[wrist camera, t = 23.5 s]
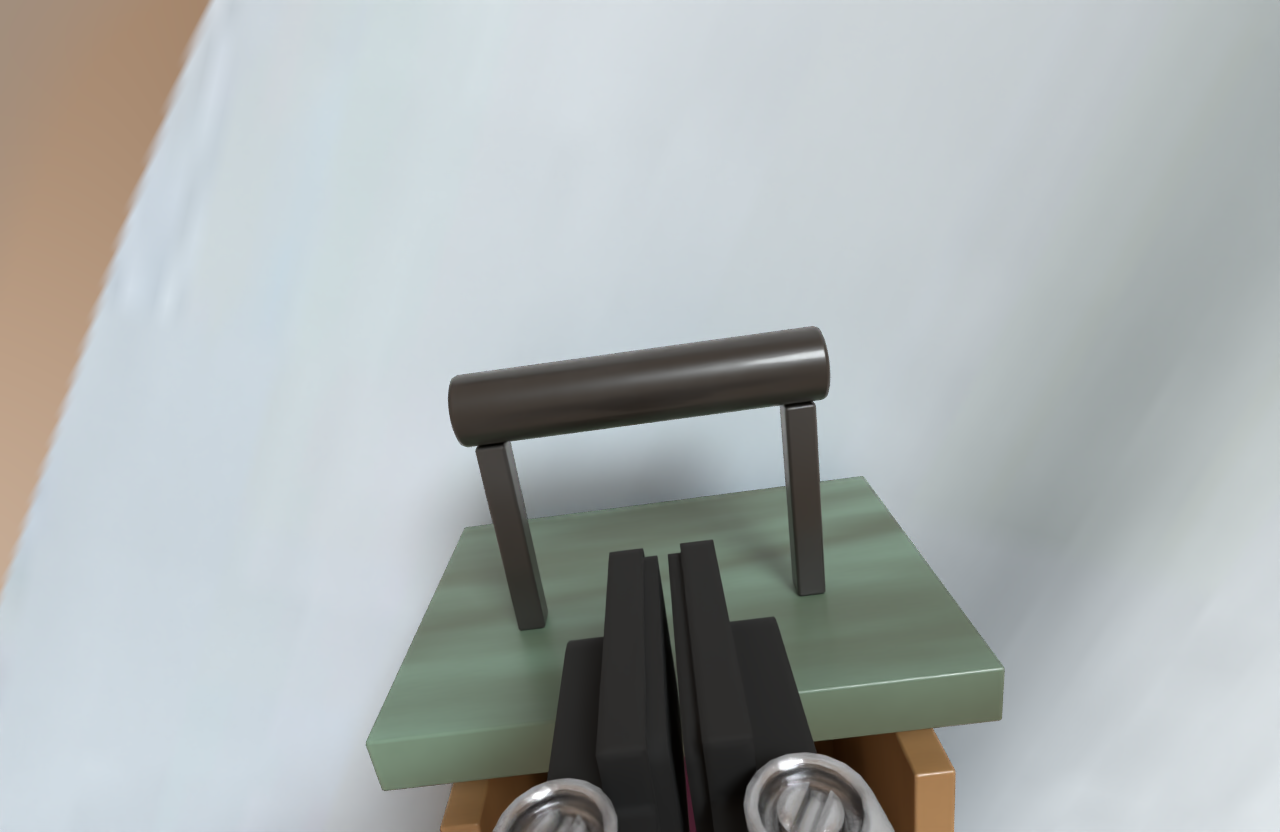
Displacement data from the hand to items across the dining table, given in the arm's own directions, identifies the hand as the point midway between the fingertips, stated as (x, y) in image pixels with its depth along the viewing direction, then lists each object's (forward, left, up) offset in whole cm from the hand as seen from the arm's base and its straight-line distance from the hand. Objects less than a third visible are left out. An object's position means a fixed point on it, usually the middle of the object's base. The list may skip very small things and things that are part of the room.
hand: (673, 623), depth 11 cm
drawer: (0, -6, -8) cm, 10 cm away
